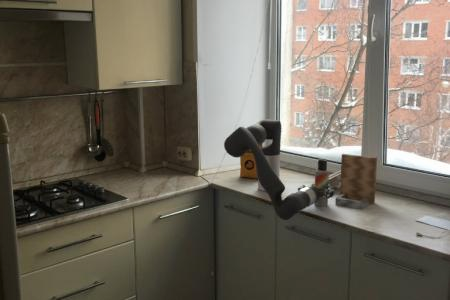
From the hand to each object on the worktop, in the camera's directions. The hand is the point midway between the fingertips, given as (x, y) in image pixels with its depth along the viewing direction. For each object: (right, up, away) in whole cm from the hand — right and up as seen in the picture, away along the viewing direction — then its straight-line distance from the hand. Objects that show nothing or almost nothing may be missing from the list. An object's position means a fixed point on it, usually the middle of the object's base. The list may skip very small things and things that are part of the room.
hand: (322, 187), depth 225 cm
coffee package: (-27, +2, +49) cm, 56 cm away
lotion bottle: (-1, -8, +1) cm, 8 cm away
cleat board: (+14, -7, +2) cm, 15 cm away
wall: (+7, -2, +28) cm, 29 cm away
